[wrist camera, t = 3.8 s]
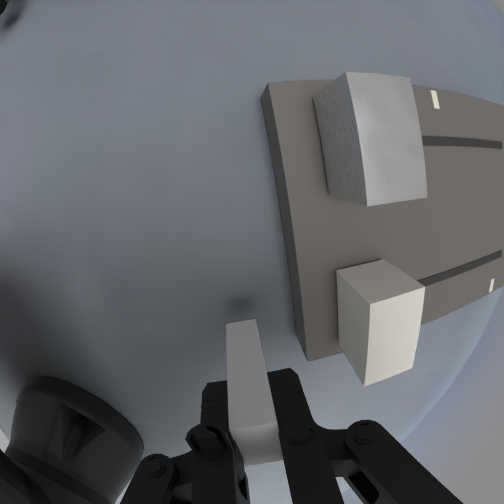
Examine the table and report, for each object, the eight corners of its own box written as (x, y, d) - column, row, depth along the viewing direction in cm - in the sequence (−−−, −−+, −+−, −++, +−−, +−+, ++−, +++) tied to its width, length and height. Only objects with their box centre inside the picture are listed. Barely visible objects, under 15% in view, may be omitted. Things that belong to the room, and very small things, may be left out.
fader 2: (338, 344, 16) (364, 386, 12) (336, 270, 14) (370, 304, 10) (380, 331, 16) (411, 368, 12) (383, 259, 14) (424, 286, 11)
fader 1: (328, 195, 13) (367, 206, 9) (312, 96, 12) (345, 72, 8) (379, 188, 13) (427, 197, 9) (365, 96, 12) (409, 77, 8)
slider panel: (296, 336, 19) (307, 362, 16) (260, 97, 14) (268, 82, 11) (488, 272, 20) (508, 283, 17) (485, 108, 15) (508, 107, 12)
